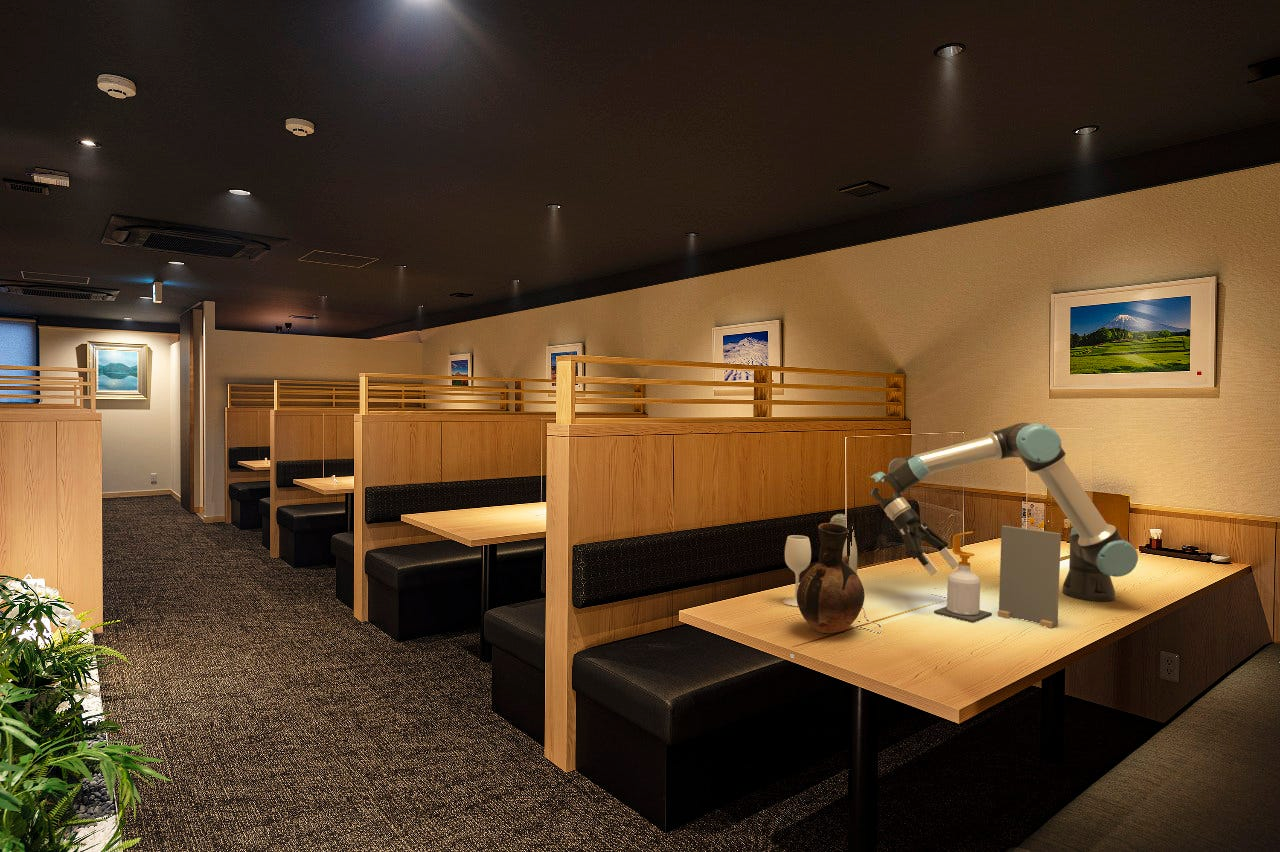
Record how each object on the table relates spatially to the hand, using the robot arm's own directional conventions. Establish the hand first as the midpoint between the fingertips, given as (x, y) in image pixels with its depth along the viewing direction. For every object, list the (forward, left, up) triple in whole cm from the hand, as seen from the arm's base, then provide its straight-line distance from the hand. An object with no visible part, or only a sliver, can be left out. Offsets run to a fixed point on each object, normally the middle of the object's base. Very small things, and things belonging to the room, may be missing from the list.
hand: (945, 570), depth 228 cm
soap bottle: (-1, +5, -12) cm, 13 cm away
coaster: (0, +5, -13) cm, 14 cm away
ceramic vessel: (+45, -10, -13) cm, 47 cm away
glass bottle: (+17, -26, -13) cm, 34 cm away
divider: (-10, +20, -13) cm, 26 cm away
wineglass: (+30, -34, -13) cm, 46 cm away
